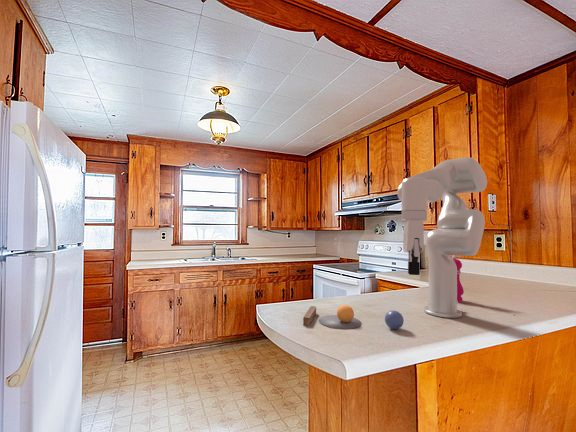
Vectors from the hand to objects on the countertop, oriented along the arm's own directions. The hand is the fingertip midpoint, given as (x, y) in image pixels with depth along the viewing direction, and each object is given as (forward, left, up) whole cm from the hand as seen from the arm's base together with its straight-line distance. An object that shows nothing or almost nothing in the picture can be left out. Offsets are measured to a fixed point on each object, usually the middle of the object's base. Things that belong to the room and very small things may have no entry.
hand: (413, 274), depth 94 cm
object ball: (+12, -17, -14) cm, 25 cm away
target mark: (+13, -19, -17) cm, 29 cm away
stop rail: (+19, -27, -17) cm, 37 cm away
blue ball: (+5, -4, -14) cm, 16 cm away
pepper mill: (-51, -6, -17) cm, 54 cm away
